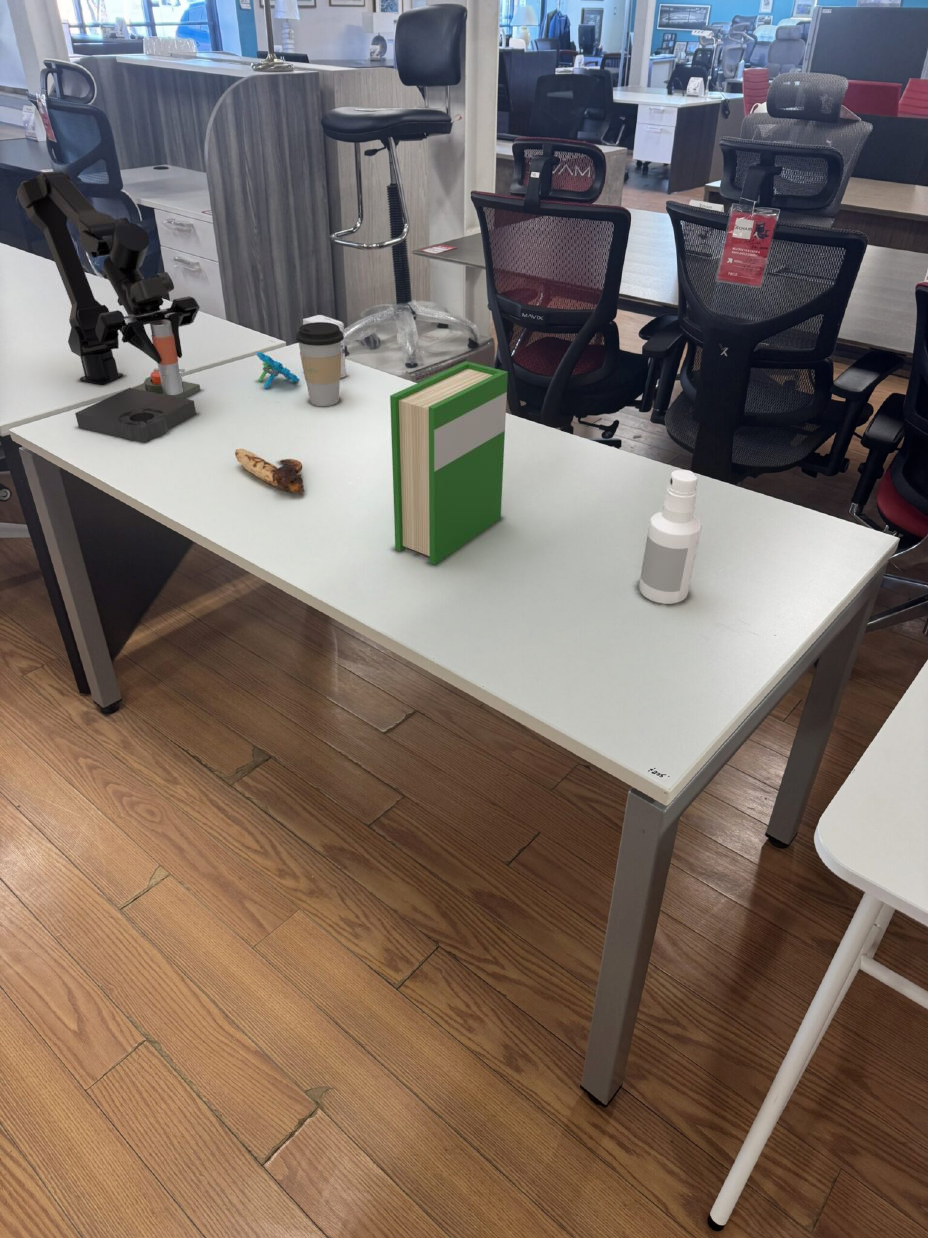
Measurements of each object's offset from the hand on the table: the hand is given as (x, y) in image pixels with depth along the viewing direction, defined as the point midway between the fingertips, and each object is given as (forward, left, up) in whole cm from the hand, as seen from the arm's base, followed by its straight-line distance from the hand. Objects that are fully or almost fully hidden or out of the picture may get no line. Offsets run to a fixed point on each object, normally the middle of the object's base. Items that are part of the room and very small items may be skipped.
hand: (170, 359), depth 156 cm
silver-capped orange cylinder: (-1, +1, -7) cm, 7 cm away
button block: (-14, +12, -13) cm, 23 cm away
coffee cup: (+18, +23, -13) cm, 32 cm away
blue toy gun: (+4, +27, -13) cm, 30 cm away
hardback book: (+64, -16, -13) cm, 67 cm away
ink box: (+10, +37, -13) cm, 40 cm away
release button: (-14, +12, -10) cm, 21 cm away
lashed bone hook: (+29, -11, -13) cm, 34 cm away
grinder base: (-9, -2, -13) cm, 16 cm away
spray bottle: (+98, -18, -13) cm, 100 cm away
